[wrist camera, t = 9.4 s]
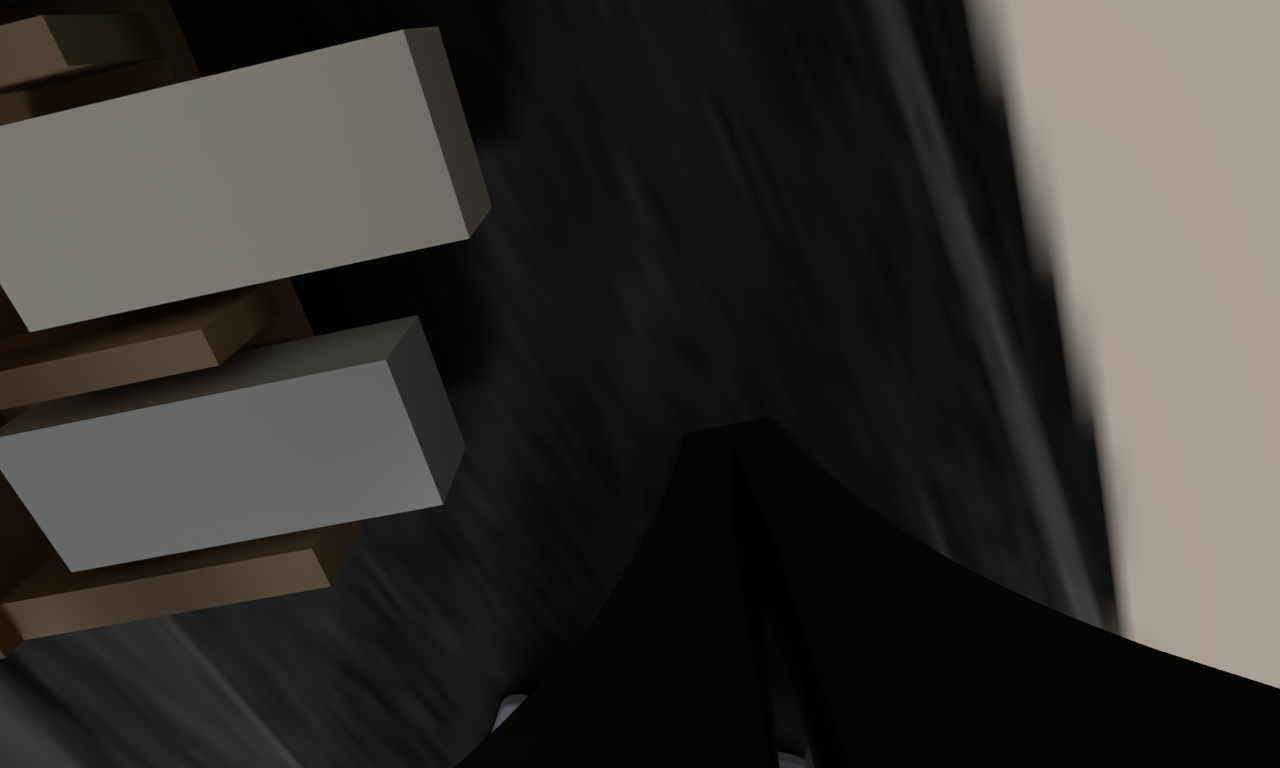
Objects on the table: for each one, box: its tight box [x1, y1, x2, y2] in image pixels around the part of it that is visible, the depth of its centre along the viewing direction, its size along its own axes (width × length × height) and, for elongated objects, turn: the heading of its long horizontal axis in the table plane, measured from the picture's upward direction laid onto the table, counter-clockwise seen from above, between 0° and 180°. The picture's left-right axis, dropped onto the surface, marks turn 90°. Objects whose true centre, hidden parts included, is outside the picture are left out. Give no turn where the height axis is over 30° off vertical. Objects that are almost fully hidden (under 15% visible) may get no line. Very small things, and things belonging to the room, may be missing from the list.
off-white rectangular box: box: [0, 27, 492, 332], centre depth 13 cm, size 8×3×2 cm, turn 102°
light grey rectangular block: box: [0, 315, 466, 572], centre depth 15 cm, size 8×3×2 cm, turn 102°
